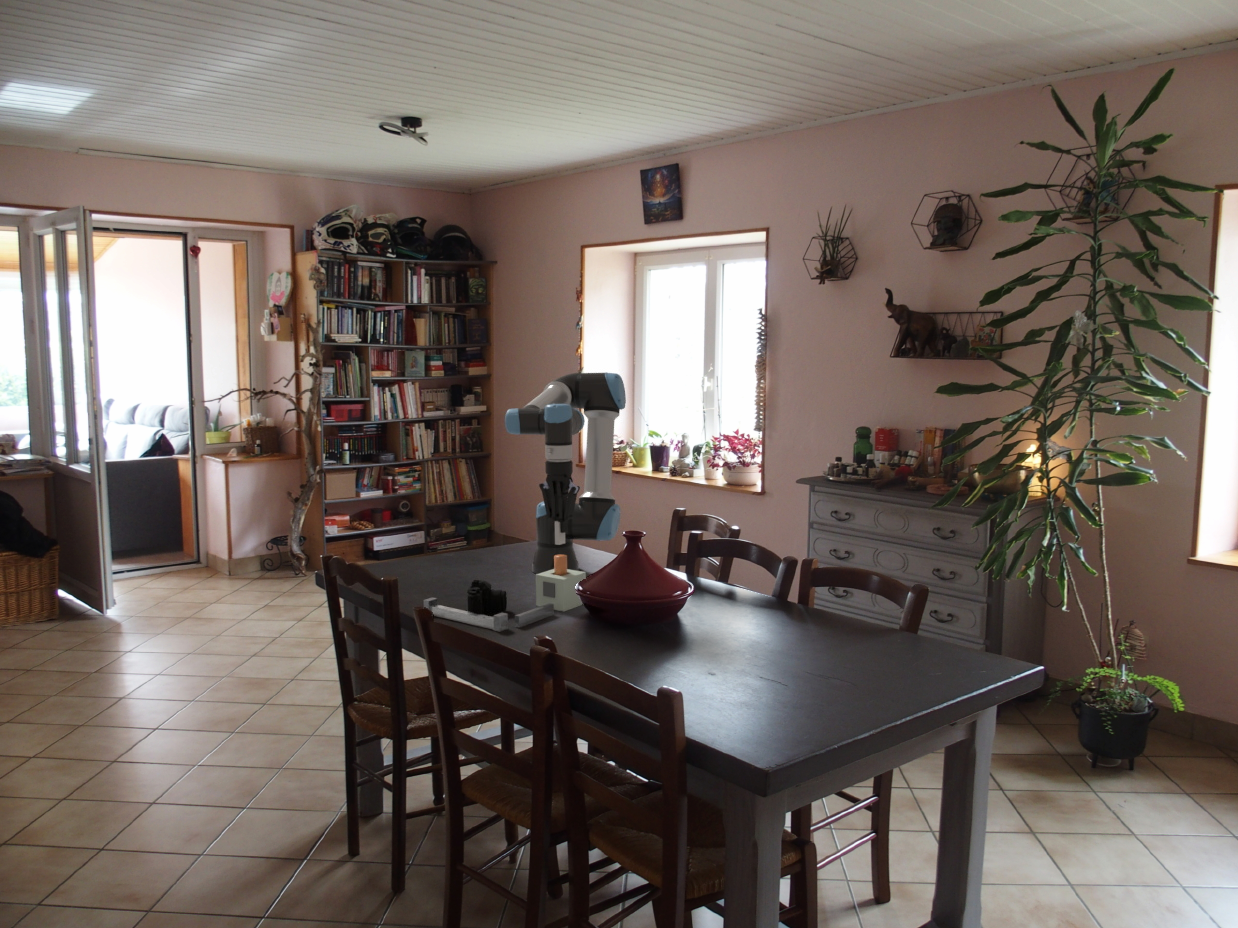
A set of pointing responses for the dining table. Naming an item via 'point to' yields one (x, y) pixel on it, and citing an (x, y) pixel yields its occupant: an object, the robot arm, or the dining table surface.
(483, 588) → the film camera
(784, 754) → the dining table surface
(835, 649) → the dining table surface
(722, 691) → the dining table surface
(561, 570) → the gauge button
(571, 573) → the cabinet
